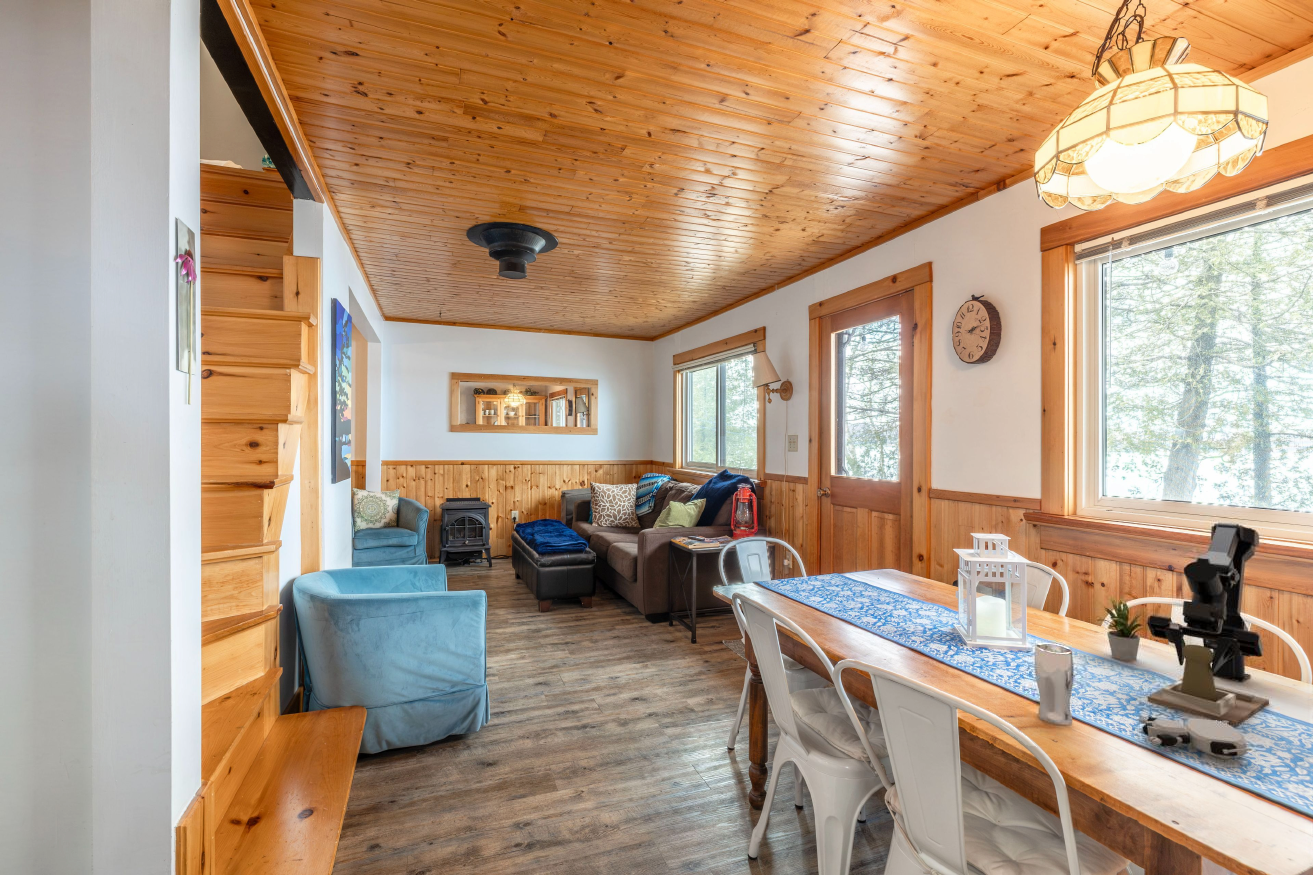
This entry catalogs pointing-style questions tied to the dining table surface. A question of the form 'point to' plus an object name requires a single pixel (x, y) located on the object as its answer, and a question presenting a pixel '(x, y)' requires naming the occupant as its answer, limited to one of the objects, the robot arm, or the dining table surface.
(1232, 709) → the assembly jig
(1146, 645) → the dining table surface
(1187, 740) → the robot toy
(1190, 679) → the cork
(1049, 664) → the beer glass
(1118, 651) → the house plant
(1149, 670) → the dining table surface
